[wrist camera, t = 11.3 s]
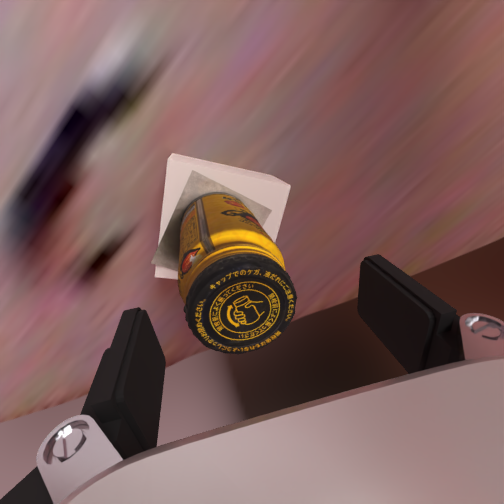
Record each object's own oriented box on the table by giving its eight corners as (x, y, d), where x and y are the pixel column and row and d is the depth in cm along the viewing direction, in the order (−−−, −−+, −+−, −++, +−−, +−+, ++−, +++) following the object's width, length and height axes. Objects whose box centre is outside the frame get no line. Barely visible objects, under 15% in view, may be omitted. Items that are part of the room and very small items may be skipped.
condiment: (271, 209, 23) (342, 279, 12) (227, 288, 25) (255, 403, 15) (192, 169, 20) (196, 213, 10) (151, 261, 23) (117, 378, 12)
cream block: (172, 152, 25) (167, 158, 20) (271, 175, 28) (291, 185, 23) (161, 249, 29) (154, 277, 23) (250, 260, 31) (262, 287, 26)
